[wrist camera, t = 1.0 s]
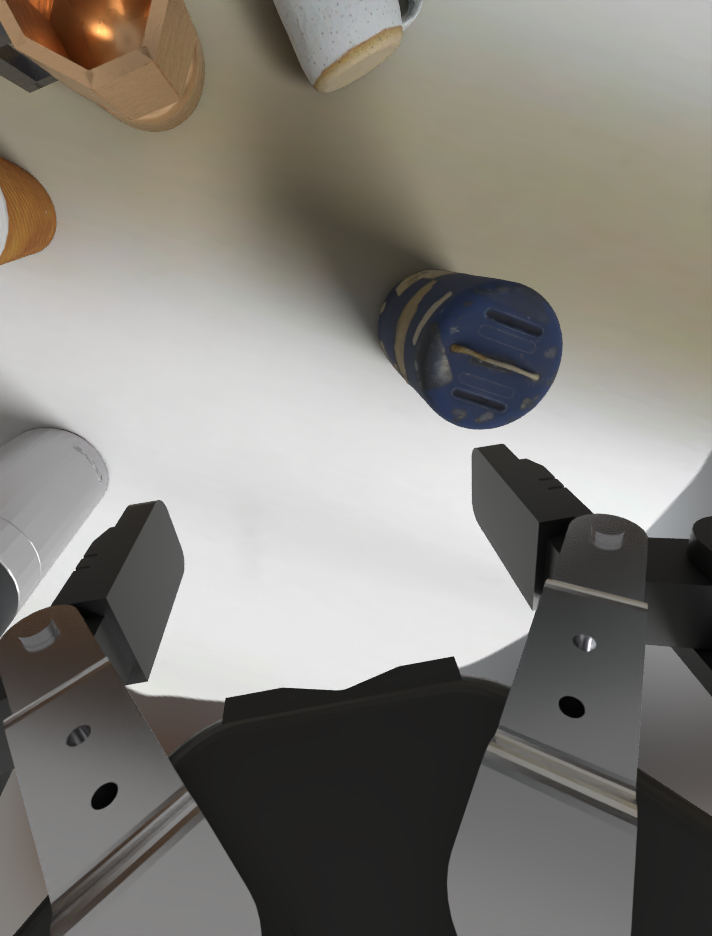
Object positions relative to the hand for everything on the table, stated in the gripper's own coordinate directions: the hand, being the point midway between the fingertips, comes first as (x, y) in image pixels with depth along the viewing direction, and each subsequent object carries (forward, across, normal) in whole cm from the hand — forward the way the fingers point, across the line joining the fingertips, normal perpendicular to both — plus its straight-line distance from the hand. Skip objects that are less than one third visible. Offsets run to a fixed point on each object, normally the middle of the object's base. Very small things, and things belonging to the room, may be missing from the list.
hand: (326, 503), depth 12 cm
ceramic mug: (+34, +6, +20) cm, 40 cm away
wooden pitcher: (+33, -10, +18) cm, 39 cm away
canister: (+34, +11, -3) cm, 36 cm away
